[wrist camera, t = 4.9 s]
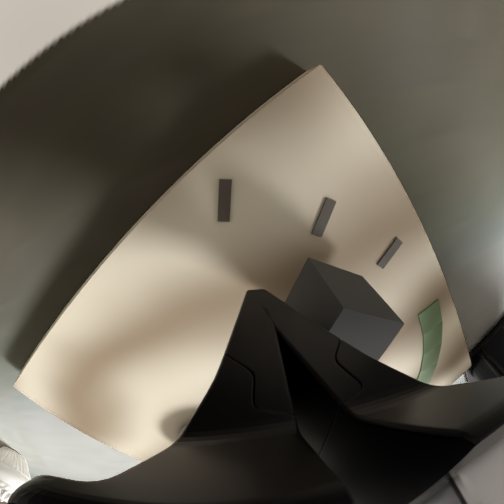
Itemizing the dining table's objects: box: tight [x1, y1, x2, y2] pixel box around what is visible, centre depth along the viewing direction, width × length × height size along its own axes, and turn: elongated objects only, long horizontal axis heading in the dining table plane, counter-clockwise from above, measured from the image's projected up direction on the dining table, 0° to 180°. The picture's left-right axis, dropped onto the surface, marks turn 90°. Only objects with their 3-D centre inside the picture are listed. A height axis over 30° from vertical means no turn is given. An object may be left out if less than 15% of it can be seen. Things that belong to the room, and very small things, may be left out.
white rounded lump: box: [0, 446, 31, 502], centre depth 15 cm, size 6×6×7 cm
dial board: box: [14, 64, 472, 461], centre depth 15 cm, size 23×22×2 cm
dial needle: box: [178, 257, 404, 438], centre depth 12 cm, size 15×5×4 cm, turn 158°
